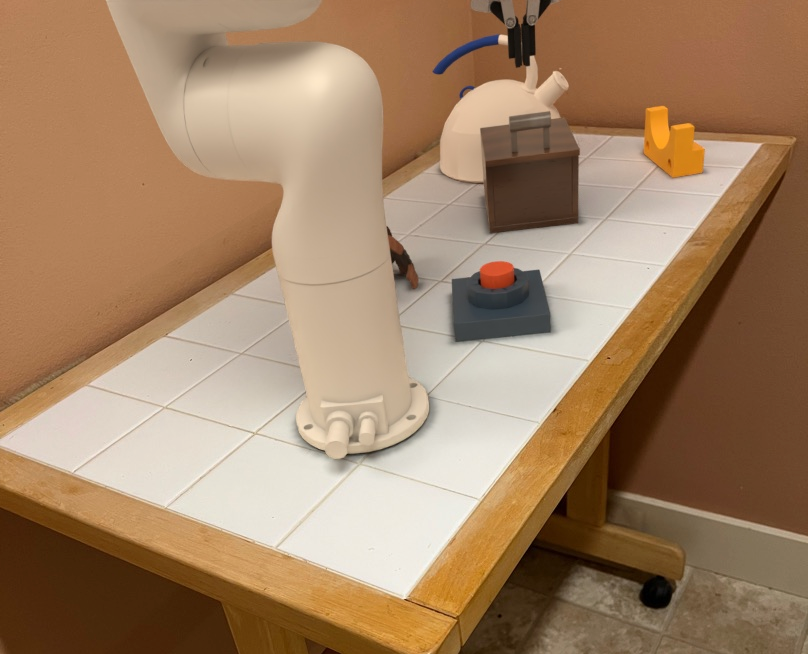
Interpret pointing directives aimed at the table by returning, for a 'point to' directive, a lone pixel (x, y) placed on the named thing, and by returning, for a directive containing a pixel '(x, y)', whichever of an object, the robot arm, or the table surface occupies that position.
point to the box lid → (528, 140)
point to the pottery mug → (402, 260)
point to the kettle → (490, 110)
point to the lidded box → (531, 193)
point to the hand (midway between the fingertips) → (522, 63)
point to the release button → (497, 275)
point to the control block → (500, 307)
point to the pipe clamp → (671, 144)
